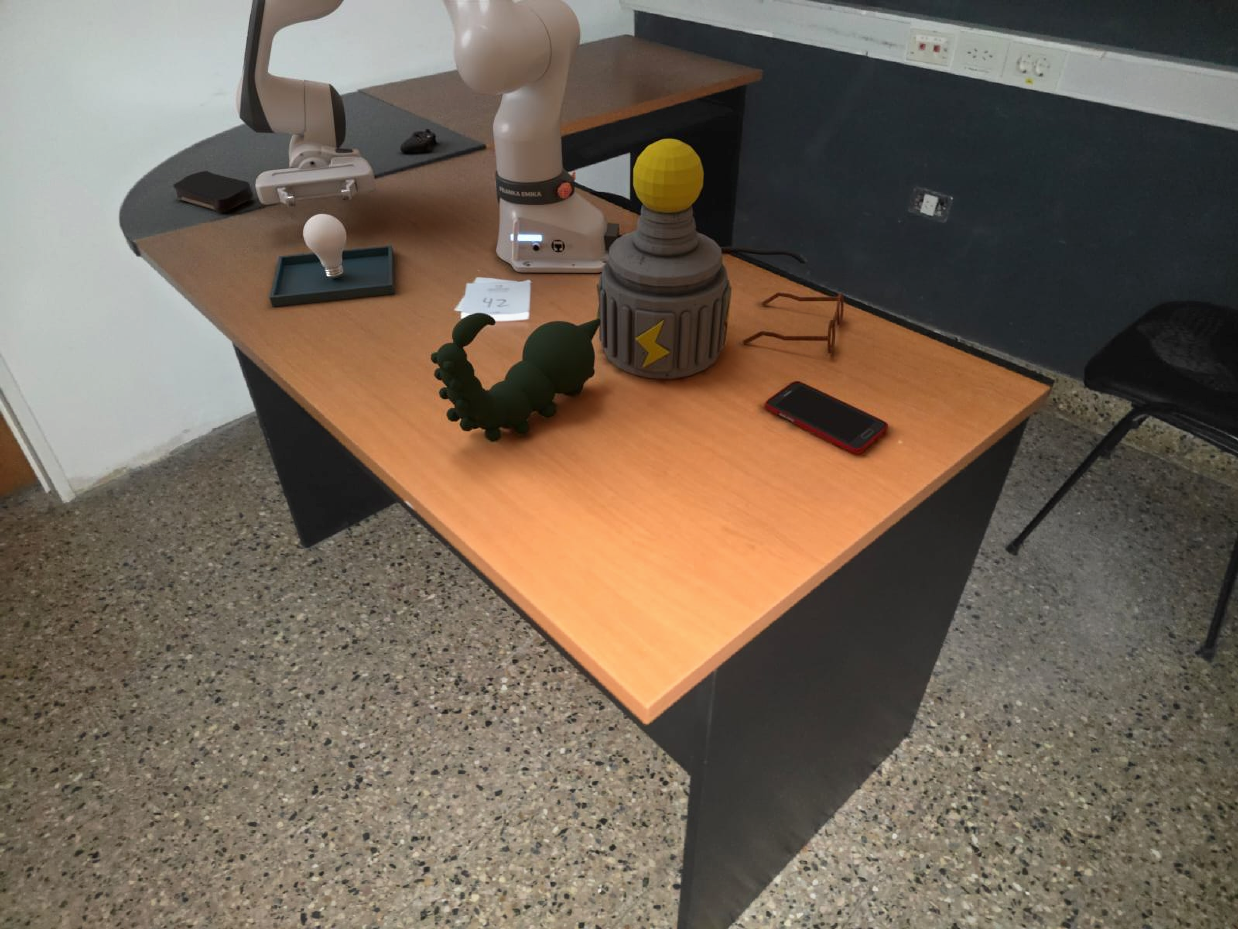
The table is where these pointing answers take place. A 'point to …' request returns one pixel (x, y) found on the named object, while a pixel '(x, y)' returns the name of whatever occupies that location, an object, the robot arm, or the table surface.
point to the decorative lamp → (664, 275)
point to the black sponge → (213, 191)
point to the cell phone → (827, 417)
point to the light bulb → (326, 242)
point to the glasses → (807, 338)
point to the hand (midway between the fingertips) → (318, 199)
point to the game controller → (419, 142)
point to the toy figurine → (515, 375)
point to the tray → (309, 282)
